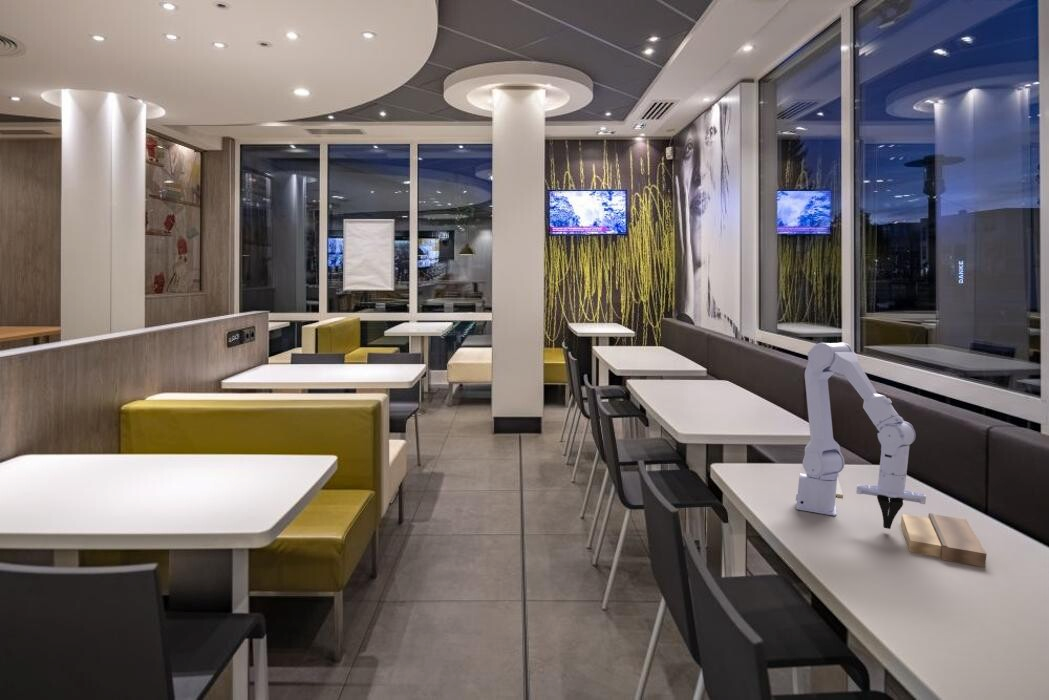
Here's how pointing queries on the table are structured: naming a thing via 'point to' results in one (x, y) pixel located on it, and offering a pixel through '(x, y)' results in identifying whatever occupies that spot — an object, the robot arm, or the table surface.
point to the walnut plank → (958, 540)
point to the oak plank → (920, 535)
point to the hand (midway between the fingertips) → (886, 527)
